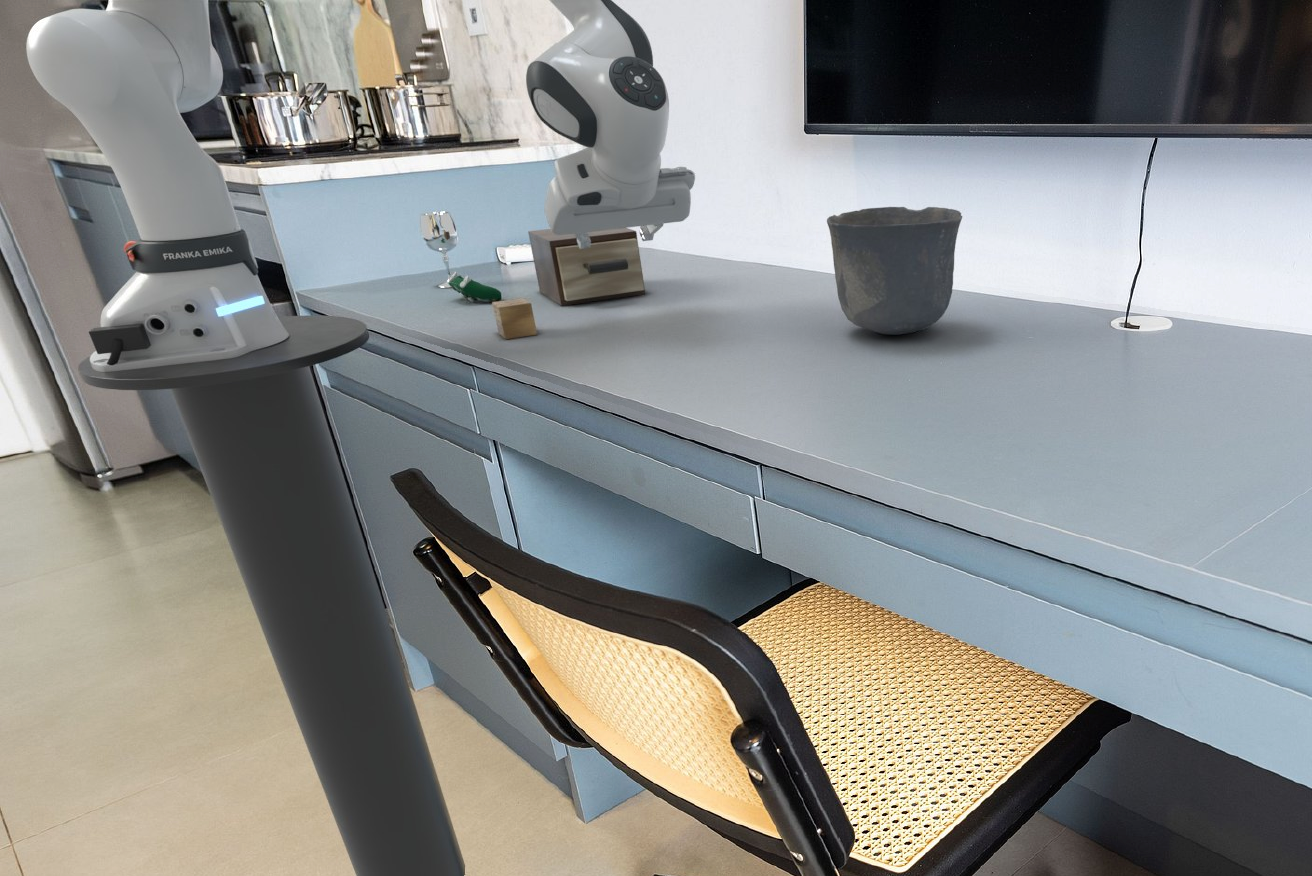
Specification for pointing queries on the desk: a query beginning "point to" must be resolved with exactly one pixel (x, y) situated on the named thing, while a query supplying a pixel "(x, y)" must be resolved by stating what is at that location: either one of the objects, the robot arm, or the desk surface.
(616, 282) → the drawer
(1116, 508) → the desk surface
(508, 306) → the block
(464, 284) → the green elongated toy
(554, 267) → the cabinet
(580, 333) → the desk surface
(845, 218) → the cup
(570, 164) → the robot arm
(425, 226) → the wineglass
